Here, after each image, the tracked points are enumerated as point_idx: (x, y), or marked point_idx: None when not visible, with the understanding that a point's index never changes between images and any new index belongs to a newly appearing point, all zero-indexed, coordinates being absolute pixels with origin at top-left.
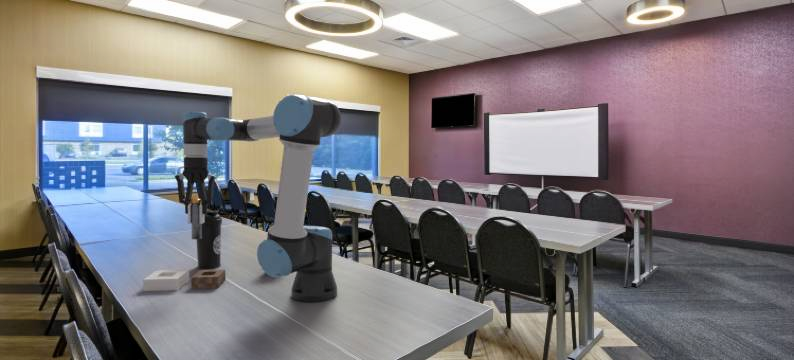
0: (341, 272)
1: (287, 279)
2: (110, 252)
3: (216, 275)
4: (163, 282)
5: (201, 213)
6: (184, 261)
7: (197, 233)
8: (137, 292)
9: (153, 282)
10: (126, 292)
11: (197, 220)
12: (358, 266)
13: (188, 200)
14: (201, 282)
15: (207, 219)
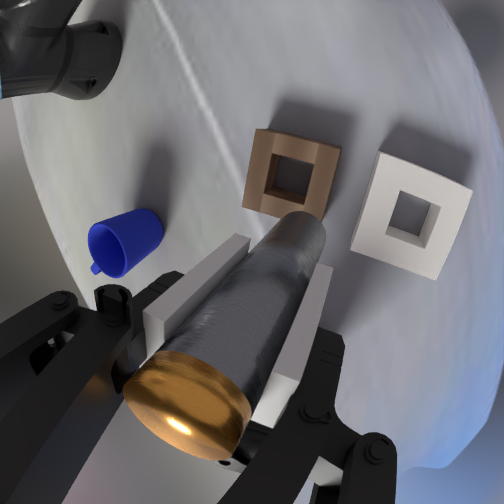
0: (60, 182)
1: (123, 159)
2: (447, 460)
3: (262, 145)
4: (419, 166)
5: (196, 268)
6: (352, 394)
7: (286, 221)
8: (472, 179)
9: (445, 177)
10: (493, 193)
11: (256, 252)
12: (47, 210)
13: (271, 435)
14: (310, 140)
15: (255, 435)
